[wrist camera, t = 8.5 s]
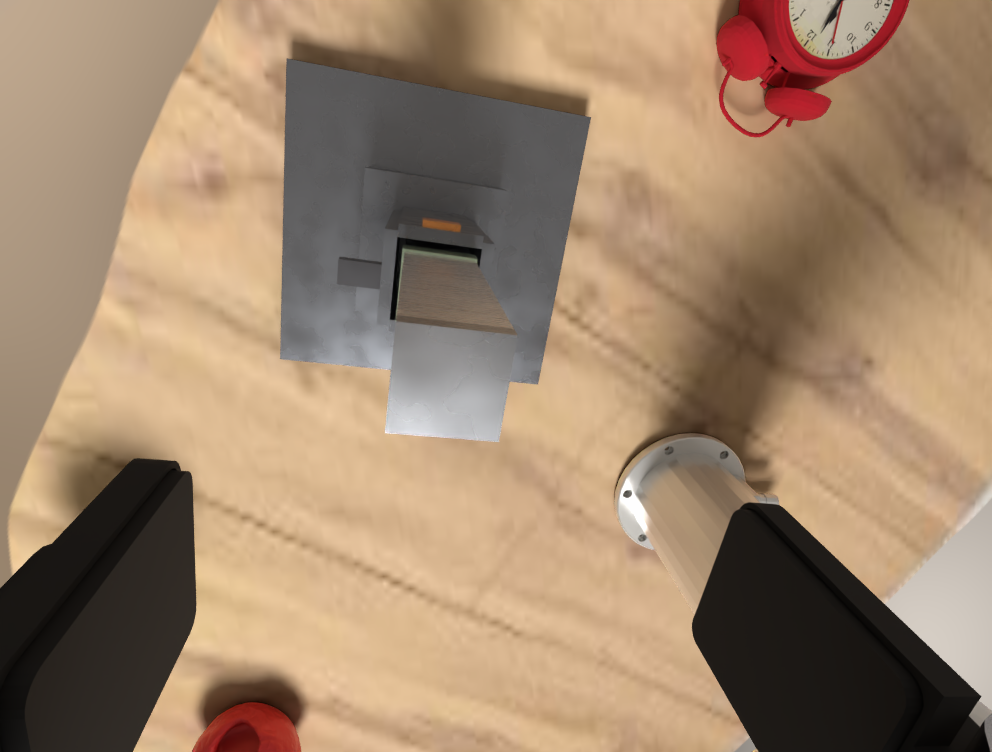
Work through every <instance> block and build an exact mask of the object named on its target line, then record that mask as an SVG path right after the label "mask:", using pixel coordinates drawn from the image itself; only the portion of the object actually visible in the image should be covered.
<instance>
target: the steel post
mask: <svg viewBox="0 0 992 752" xmlns="http://www.w3.org/2000/svg"><path fill="white" fill-rule="evenodd" d="M477 260H478V259H477V257H476V255H474V254H471V253H470V251H469V249H468V247H464V246H457V245H450V244H443V243H436V242H429V241H422V240H415V239H408V238H406V244H405V245H403V249H402V260H401V270H400V281H399V291H398V301H397V312H396V324H395V334H394V344H393V355H392V365H391V375H390V386H389V396H388V406H387V417H386V427H385V433H391V434H403V435H416V436H429V437H442V438H455V439H468V440H481V441H494V442H499V437H500V432H501V426H502V421H503V415H504V409H505V404H506V398H507V393H508V387H509V381H510V376H511V370H512V365H513V359H514V353H515V348H516V342H517V337H518V335H517V333H516V331H515V330H514V328H513V326H512V324H511V323H510V321H509V319H508V317H507V316H506V314H505V312H504V310H503V309H502V307H501V305H500V303H499V302H498V300H497V298H496V296H495V295H494V293H493V291H492V289H491V288H490V286H489V284H488V282H487V281H486V279H485V277H484V275H483V274H482V272H481V270H480V268H479V267H478V265H477Z"/></svg>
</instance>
